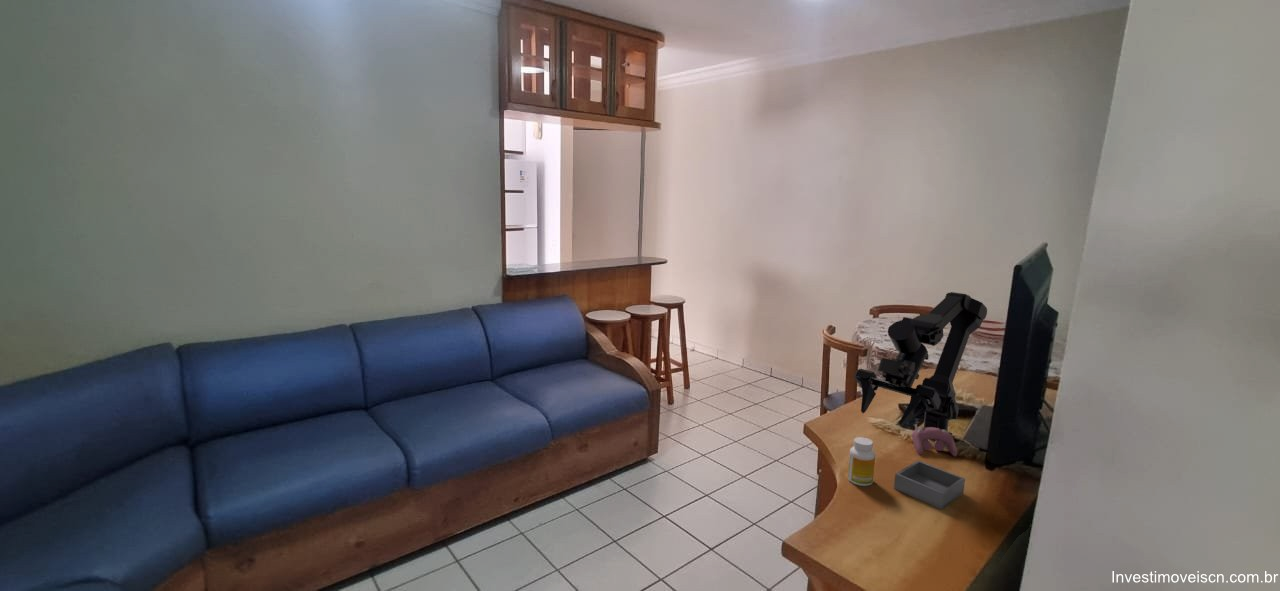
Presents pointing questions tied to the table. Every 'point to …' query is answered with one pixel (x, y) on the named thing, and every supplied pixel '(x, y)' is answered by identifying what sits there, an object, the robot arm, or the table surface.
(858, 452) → the supplement bottle
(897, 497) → the table surface
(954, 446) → the video game controller
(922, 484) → the trough tray
